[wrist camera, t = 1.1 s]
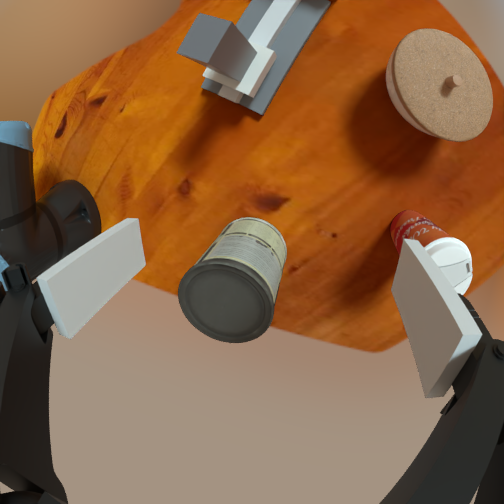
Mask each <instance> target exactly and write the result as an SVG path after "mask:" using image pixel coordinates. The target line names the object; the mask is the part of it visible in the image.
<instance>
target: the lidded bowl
mask: <svg viewBox="0 0 504 504" xmlns="http://www.w3.org/2000/svg"><path fill="white" fill-rule="evenodd" d="M386 85H387V90H388V93H389V96H390V98H391V101H392V103H393V104H394V106H395V108H396V109H397V111H398V112H399V113H400V115H401V116H402V117H403V118H404V119H405V120H406V121H407V122H409V123H410V124H411V125H412V126H413V127H415V128H417V129H418V130H420V131H422V132H424V133H426V134H428V135H431V136H434V137H438V138H441V139H444V140H447V141H455V142H462V141H467V140H471V139H473V138H475V137H477V136H478V135H479V134H480V133H481V132H482V131H483V130H484V129H485V127H486V126H487V124H488V122H489V120H490V116H491V113H492V106H493V97H492V89H491V85H490V81H489V78H488V76H487V73H486V71H485V69H484V67H483V65H482V64H481V62H480V61H479V59H478V58H477V56H476V55H475V54H474V53H473V52H472V51H471V49H470V48H468V47H467V46H466V45H465V44H464V43H463V42H462V41H460V40H459V39H457V38H456V37H454V36H452V35H450V34H448V33H446V32H443V31H440V30H436V29H419V30H416V31H413V32H411V33H409V34H408V35H406V36H405V37H404V38H403V39H402V40H401V41H400V42H399V44H398V45H397V47H396V48H395V49H394V51H393V53H392V54H391V56H390V58H389V61H388V64H387V69H386Z"/></svg>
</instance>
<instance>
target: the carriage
mask: <svg viewBox="0 0 504 504" xmlns="http://www.w3.org/2000/svg"><path fill="white" fill-rule="evenodd" d="M177 53H178V54H180V55H182V56H184V57H186V58H189V59H191V60H193V61H195V62H197V63H199V64H201V65H203V66H205V67H207V68H206V70H205V72H204V74H203V76H204V77H206V78H209V79H211V80H214V81H216V82H218V83H221V84H224V85H226V86H228V87H231V88H233V89H235V90H238V91H240V92H242V93H244V94H246V95H248V96H251V97H253V98H254V96H255V94H256V93H257V91H258V89H259V87H260V86H261V84H262V82H263V80H264V79H265V77H266V75H267V73H268V72H269V70H270V68H271V66H272V65H273V63H274V61H275V60H276V57H277V55H276V53H275V51H273V50H271V49H269V48H266V47H264V46H261V45H259V44H256V43H253V42H251V41H248V40H247V39H246V38H245V37H244V35H243V34H242V33H241V32H240V31H239V30H238V28H237V27H236V26H235V25H234V24H233V23H232V22H231V21H227V20H224V19H220V18H217V17H213V16H209V15H205V14H201V13H199V15H198V16H197V18H196V19H195V21H194V23H193V24H192V26H191V28H190V30H189V31H188V33H187V35H186V37H185V38H184V40H183V42H182V44H181V46H180V47H179V49H178V51H177Z"/></svg>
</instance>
